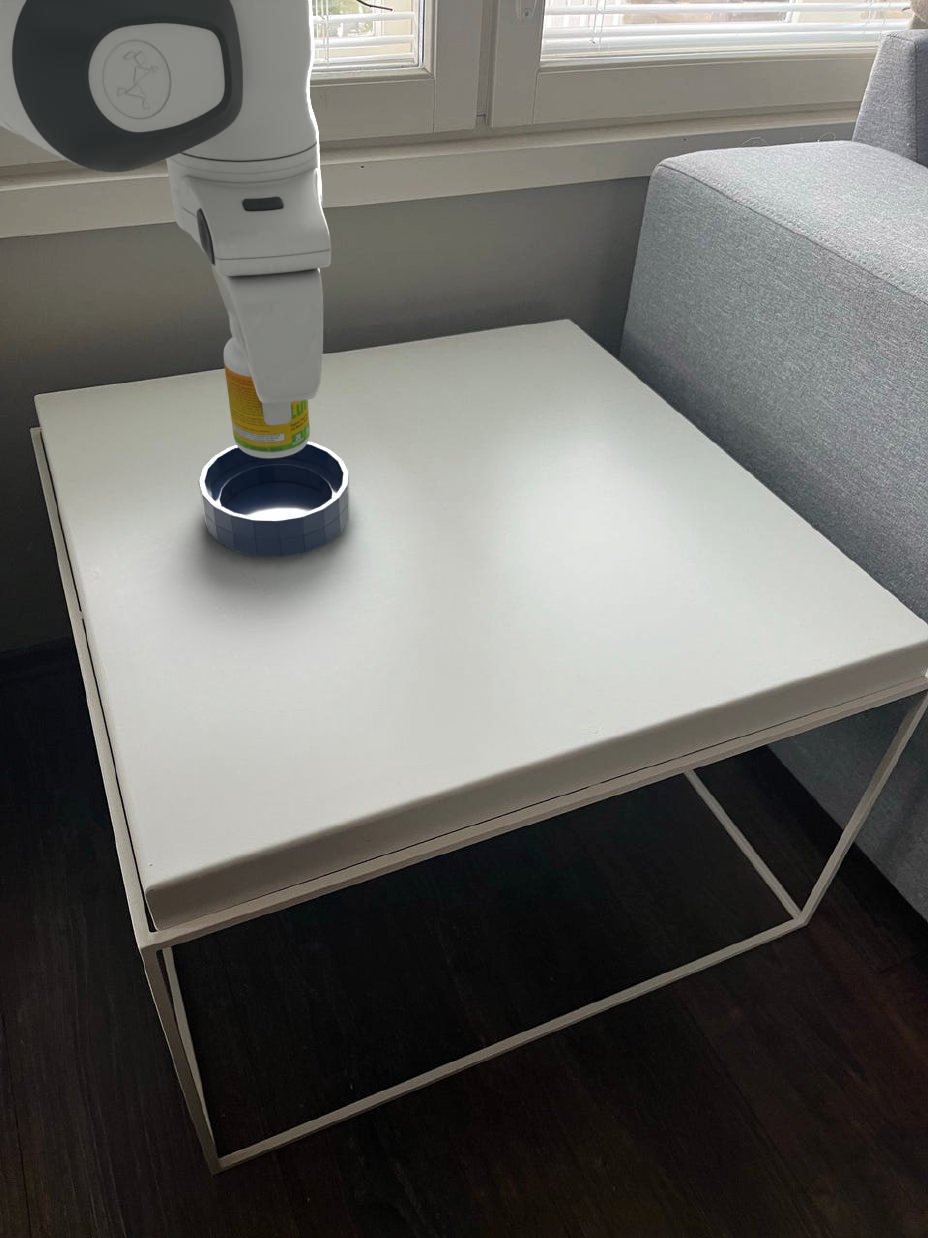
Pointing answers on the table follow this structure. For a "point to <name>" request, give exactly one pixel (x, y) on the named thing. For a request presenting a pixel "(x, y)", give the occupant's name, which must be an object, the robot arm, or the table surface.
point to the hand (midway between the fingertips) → (267, 395)
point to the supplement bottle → (259, 412)
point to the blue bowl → (275, 500)
